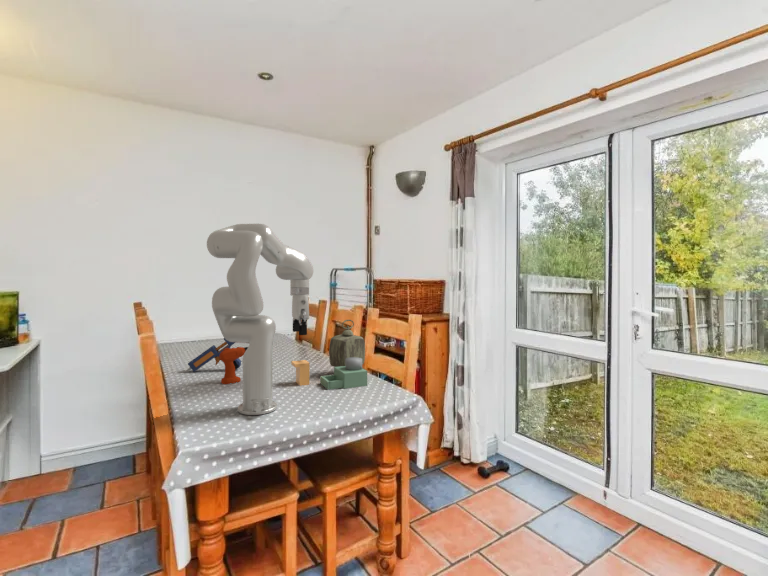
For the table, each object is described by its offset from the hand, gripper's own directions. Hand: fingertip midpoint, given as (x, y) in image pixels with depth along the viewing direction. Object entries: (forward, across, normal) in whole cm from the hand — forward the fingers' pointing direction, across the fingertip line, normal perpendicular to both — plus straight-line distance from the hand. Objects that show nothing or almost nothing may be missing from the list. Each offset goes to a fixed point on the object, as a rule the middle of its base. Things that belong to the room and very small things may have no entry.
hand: (299, 333), depth 165 cm
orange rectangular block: (+21, -1, -1) cm, 21 cm away
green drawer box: (+21, -9, -16) cm, 28 cm away
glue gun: (+21, +35, +30) cm, 51 cm away
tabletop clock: (+21, +3, -23) cm, 31 cm away
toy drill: (+21, +14, +21) cm, 33 cm away
